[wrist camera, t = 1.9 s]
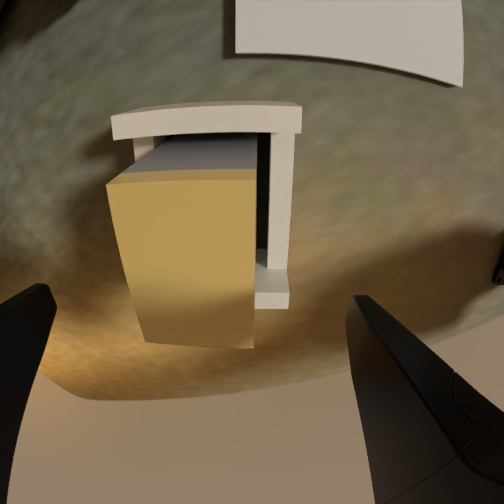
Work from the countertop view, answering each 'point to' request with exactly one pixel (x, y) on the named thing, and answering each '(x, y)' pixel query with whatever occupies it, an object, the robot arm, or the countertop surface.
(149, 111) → the white rectangular frame
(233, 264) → the plug
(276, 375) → the countertop surface
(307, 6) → the mat
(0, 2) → the crumpled dark cloth
